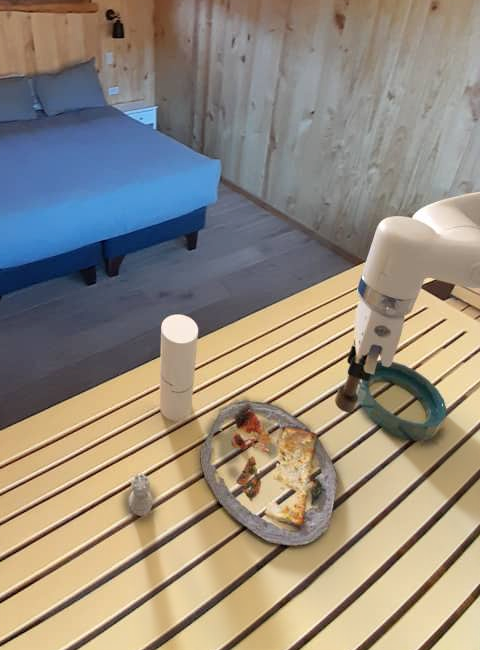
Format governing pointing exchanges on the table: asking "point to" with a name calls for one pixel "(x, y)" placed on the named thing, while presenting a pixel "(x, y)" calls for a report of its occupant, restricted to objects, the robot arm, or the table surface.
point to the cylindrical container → (177, 366)
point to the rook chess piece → (140, 495)
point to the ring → (416, 387)
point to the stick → (348, 394)
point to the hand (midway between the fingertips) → (357, 370)
